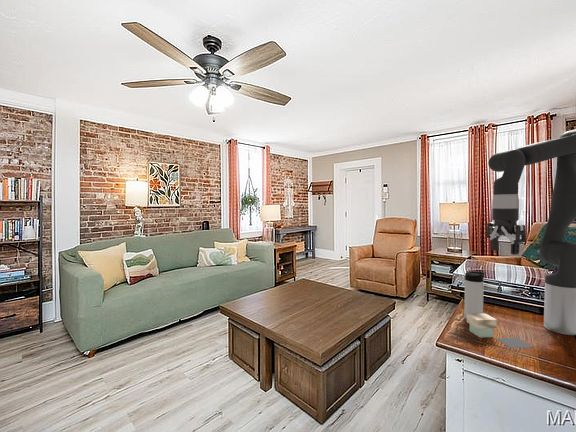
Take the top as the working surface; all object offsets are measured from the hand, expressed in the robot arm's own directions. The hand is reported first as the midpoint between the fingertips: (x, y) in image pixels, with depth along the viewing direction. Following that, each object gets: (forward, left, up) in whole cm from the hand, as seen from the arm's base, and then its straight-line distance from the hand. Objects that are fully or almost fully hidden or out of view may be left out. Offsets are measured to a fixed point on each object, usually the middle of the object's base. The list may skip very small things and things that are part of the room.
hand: (504, 252), depth 99 cm
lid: (+8, 0, -26) cm, 27 cm away
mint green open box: (+8, 0, -30) cm, 31 cm away
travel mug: (+2, -12, -30) cm, 33 cm away
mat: (+2, +7, -30) cm, 31 cm away
